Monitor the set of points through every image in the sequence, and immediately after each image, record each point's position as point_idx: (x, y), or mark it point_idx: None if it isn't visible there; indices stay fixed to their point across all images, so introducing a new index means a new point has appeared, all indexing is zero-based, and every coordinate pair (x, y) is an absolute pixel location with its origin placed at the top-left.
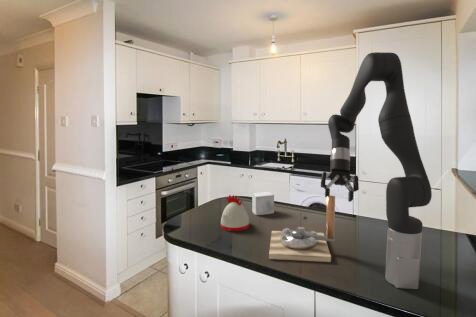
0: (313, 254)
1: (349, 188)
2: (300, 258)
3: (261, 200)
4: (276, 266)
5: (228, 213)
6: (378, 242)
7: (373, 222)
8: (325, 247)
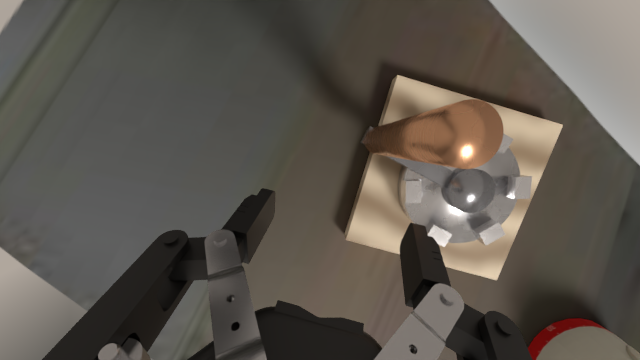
0: (440, 97)
1: (239, 258)
2: None
3: None
4: (543, 80)
5: None
6: (203, 173)
7: None
8: None
